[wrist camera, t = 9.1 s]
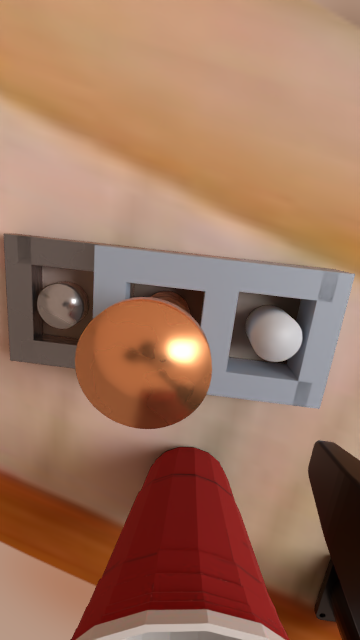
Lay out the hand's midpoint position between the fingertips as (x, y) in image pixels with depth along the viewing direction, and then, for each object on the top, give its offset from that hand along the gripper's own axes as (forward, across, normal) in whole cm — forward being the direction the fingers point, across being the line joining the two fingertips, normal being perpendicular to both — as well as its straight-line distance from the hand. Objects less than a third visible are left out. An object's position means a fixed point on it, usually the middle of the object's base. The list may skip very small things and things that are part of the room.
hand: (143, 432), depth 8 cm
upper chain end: (+12, -2, 0) cm, 12 cm away
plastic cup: (+12, -2, +12) cm, 18 cm away
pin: (+12, +1, 0) cm, 12 cm away
